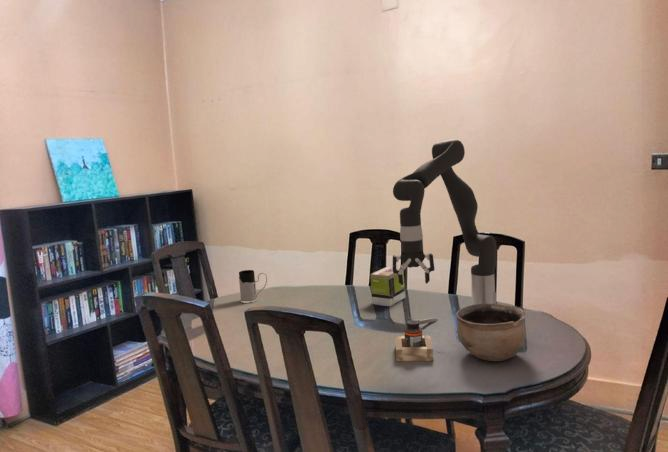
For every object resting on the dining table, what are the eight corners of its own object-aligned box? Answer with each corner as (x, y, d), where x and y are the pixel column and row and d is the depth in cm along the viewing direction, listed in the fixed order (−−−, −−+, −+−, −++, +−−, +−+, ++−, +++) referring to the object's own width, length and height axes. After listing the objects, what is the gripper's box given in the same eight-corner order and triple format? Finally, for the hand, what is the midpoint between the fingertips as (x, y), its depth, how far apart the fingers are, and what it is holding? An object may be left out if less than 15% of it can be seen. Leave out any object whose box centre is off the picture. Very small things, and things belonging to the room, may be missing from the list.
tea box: (387, 295, 237) (386, 266, 235) (405, 298, 231) (404, 267, 229) (371, 304, 225) (369, 273, 223) (390, 307, 219) (388, 275, 217)
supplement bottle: (403, 351, 169) (402, 319, 167) (420, 349, 169) (419, 318, 168) (407, 357, 163) (406, 325, 161) (425, 356, 163) (423, 323, 162)
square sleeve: (430, 346, 171) (429, 335, 171) (433, 360, 159) (433, 348, 159) (395, 347, 172) (395, 336, 172) (396, 361, 161) (396, 349, 160)
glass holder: (240, 299, 247) (238, 270, 245) (268, 296, 248) (266, 268, 246) (239, 304, 238) (236, 274, 236) (268, 301, 240) (266, 272, 237)
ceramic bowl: (518, 375, 145) (517, 327, 143) (447, 363, 157) (446, 318, 155) (532, 349, 164) (531, 306, 162) (468, 339, 175) (467, 299, 173)
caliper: (409, 335, 184) (408, 319, 183) (407, 335, 184) (406, 319, 183) (438, 320, 198) (437, 305, 197) (435, 319, 199) (435, 305, 198)
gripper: (431, 234, 170) (433, 279, 172) (390, 237, 171) (393, 282, 173) (433, 238, 162) (436, 285, 165) (391, 241, 164) (394, 287, 166)
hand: (414, 283), depth 169 cm, fingers open, 8 cm apart
